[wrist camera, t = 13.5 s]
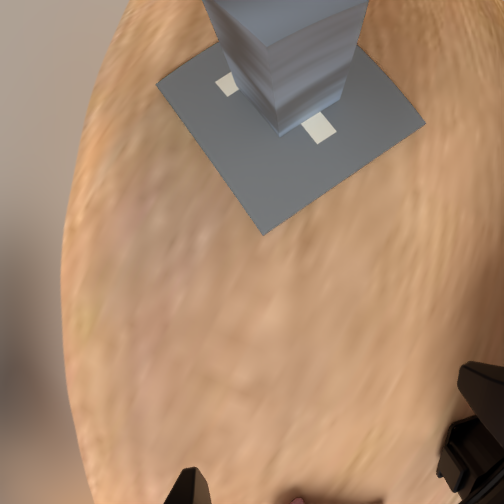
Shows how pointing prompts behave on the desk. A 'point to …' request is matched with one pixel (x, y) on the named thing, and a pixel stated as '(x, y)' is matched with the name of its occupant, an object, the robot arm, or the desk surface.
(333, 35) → the grey rectangular block
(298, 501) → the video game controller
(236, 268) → the desk surface
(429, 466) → the desk surface
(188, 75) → the board
